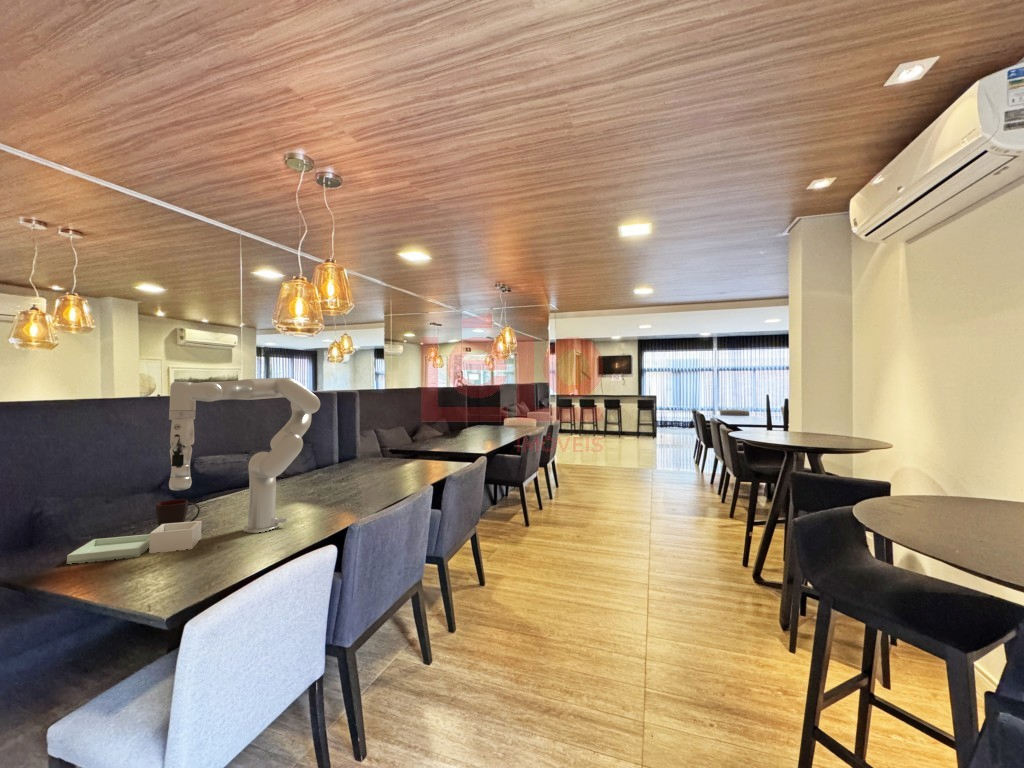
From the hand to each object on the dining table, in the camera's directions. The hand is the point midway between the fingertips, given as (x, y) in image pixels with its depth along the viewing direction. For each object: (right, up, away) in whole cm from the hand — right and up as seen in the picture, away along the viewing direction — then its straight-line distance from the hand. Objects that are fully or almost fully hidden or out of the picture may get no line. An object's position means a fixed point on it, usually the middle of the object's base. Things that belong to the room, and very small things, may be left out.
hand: (180, 464), depth 150 cm
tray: (-16, -29, -8) cm, 34 cm away
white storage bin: (-1, -30, -1) cm, 30 cm away
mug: (-13, -30, +14) cm, 36 cm away
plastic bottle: (0, -10, 0) cm, 10 cm away
